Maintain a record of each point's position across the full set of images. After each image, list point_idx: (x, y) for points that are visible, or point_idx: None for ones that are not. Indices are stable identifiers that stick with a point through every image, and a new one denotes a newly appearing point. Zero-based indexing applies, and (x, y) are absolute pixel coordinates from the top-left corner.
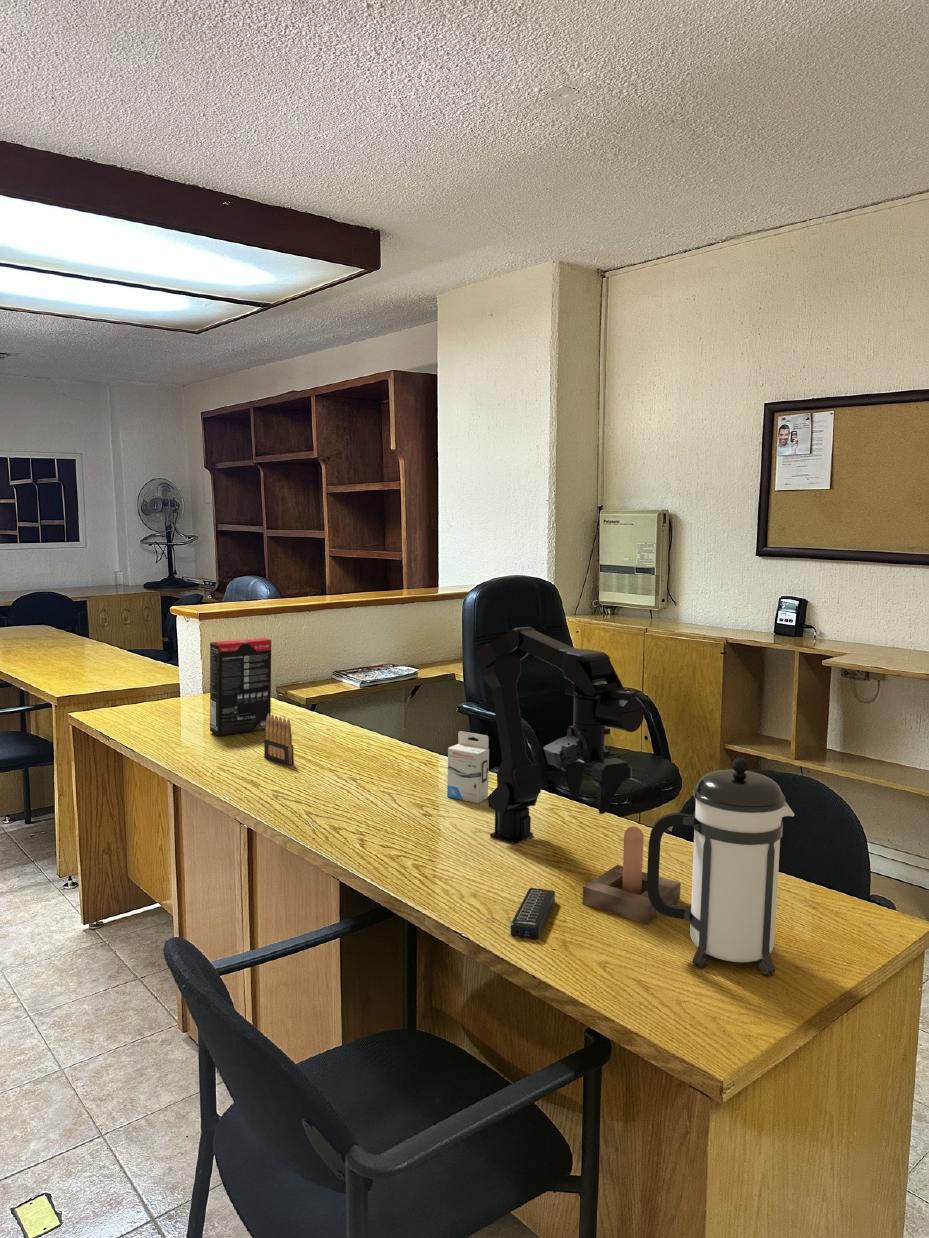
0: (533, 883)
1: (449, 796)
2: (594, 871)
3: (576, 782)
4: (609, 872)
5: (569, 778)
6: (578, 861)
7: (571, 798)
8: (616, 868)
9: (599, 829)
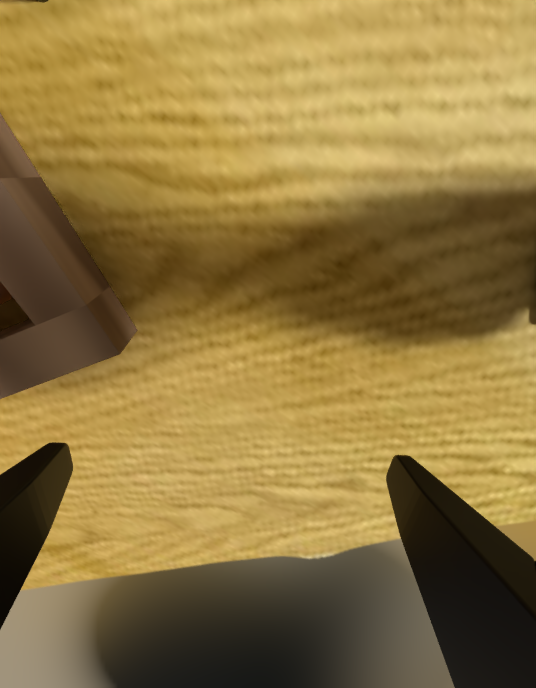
0: (232, 44)
1: None
2: (223, 318)
3: (449, 595)
4: (64, 292)
5: (514, 610)
6: (307, 322)
7: (406, 456)
8: (91, 333)
9: None
